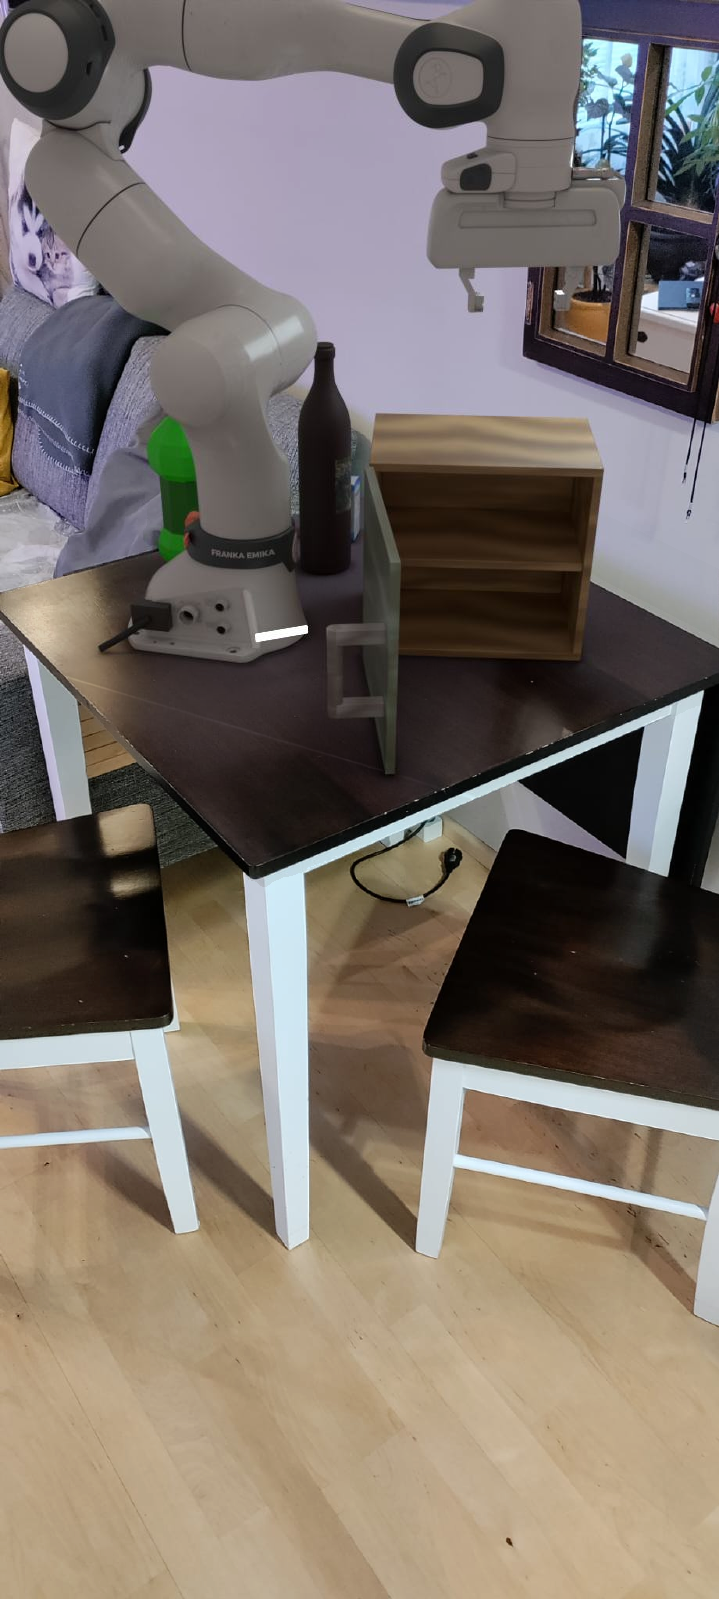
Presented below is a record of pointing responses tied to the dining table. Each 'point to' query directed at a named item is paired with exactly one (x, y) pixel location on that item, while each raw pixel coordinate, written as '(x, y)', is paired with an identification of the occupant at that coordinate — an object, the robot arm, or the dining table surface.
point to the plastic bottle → (173, 483)
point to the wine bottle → (324, 471)
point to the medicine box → (355, 506)
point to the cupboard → (490, 531)
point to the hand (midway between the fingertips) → (518, 310)
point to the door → (372, 629)
